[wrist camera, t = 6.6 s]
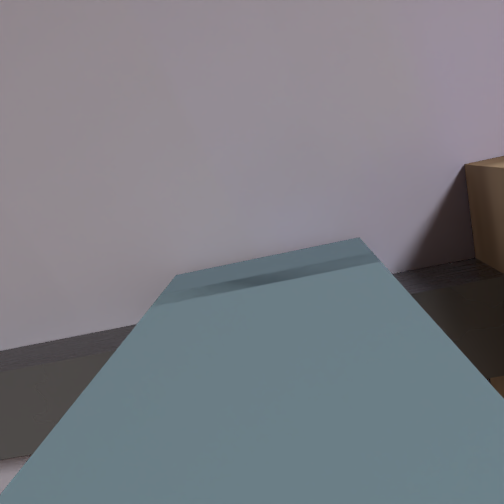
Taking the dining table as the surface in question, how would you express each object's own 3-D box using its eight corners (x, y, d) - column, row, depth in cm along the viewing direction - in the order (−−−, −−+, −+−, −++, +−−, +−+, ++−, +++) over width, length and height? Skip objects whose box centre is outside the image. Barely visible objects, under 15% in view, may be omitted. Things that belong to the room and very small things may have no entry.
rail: (-146, 454, 17) (-200, 493, 15) (-179, 386, 17) (-240, 417, 15) (486, 343, 15) (517, 373, 13) (475, 257, 14) (507, 275, 12)
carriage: (219, 433, 16) (49, 1255, 4) (176, 275, 14) (-256, 811, 3) (389, 405, 15) (765, 1287, 3) (359, 237, 14) (799, 727, 2)
